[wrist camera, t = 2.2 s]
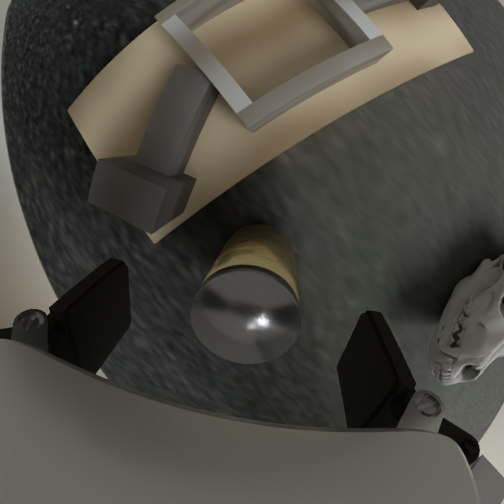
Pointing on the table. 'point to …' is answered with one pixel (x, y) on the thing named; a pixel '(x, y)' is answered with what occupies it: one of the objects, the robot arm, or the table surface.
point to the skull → (470, 326)
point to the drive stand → (241, 92)
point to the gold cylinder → (249, 298)
